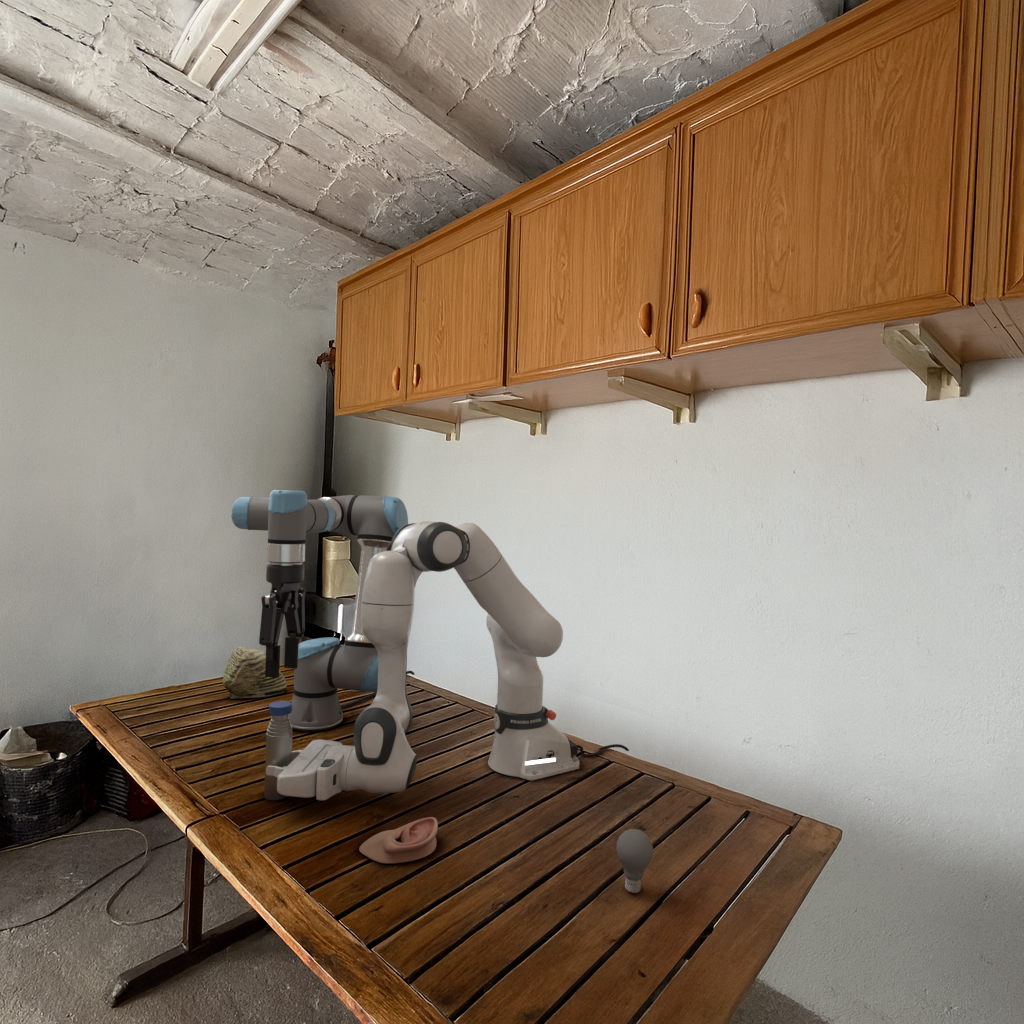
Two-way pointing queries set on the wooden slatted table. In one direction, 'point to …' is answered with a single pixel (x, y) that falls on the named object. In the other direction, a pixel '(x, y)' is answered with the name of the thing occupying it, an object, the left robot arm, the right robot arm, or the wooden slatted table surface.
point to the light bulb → (634, 857)
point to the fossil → (250, 675)
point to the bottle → (277, 752)
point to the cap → (280, 708)
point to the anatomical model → (403, 842)
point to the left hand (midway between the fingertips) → (281, 672)
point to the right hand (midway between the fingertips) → (274, 762)
